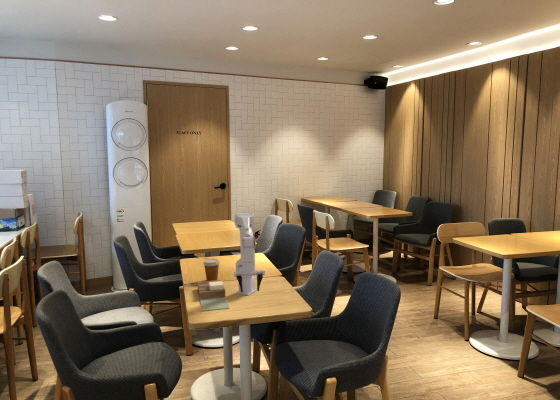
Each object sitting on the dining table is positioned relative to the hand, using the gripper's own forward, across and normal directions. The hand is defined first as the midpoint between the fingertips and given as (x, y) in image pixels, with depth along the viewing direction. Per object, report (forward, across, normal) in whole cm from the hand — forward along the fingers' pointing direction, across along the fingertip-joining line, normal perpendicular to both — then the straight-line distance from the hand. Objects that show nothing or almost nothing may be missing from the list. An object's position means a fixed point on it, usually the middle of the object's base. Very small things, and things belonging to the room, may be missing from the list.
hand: (250, 291), depth 201 cm
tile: (+1, -15, +30) cm, 34 cm away
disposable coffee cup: (+2, -16, +59) cm, 62 cm away
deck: (+5, -18, +35) cm, 40 cm away
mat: (+8, -16, +18) cm, 25 cm away
